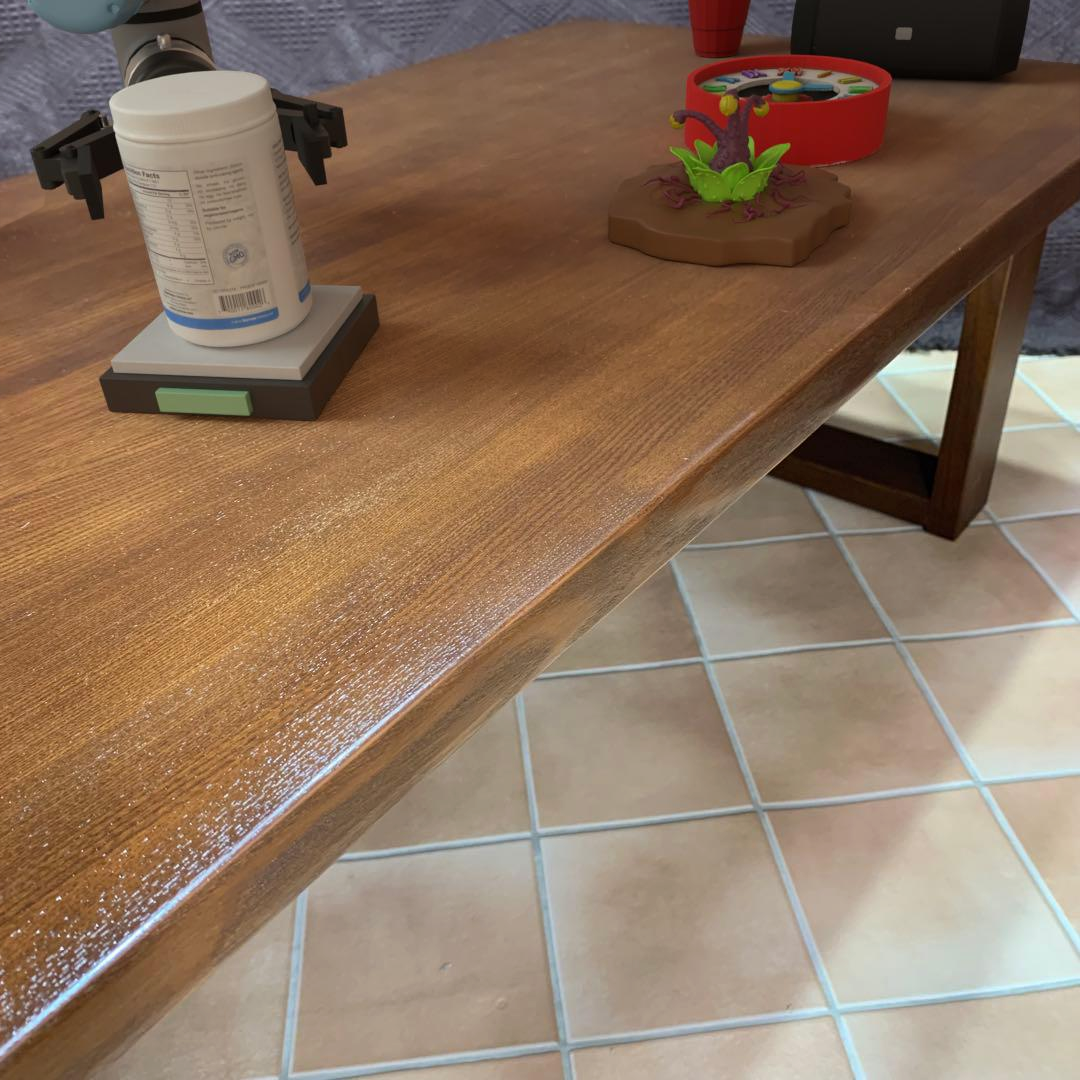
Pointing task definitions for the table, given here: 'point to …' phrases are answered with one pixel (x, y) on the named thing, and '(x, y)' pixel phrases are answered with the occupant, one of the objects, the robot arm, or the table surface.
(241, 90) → the supplement tub
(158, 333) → the scale
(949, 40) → the portable speaker
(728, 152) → the plant
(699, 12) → the plastic cup
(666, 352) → the table surface
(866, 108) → the toy clock
